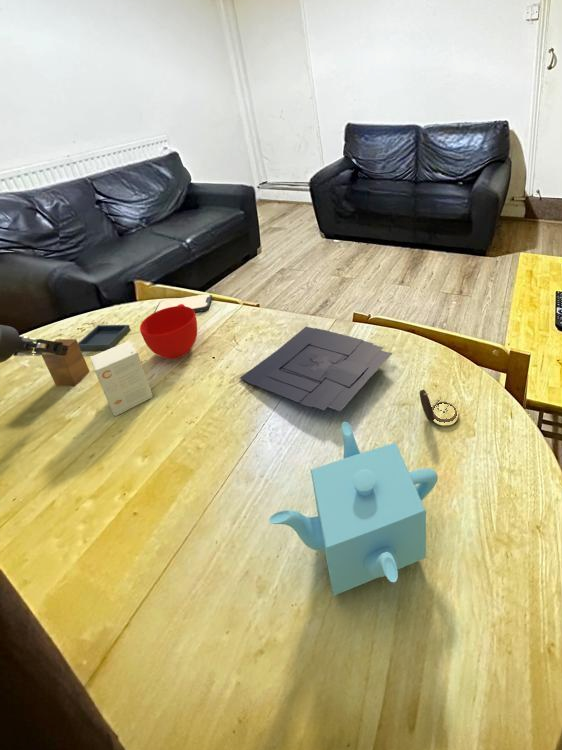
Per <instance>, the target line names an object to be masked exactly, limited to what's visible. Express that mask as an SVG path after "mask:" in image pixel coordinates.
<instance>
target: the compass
mask: <svg viewBox="0 0 562 750" xmlns="http://www.w3.org/2000/svg"><path fill="white" fill-rule="evenodd" d="M419 399H420V404H421V407H422V410H423V412H424V416H425V418H426V419H427V421H428V422H433V420H434V419H436V420H437V421H439V422H444V423H445V422H450V421H453V420H454V419H455V418H456V416H457V411H456V408H457V407H456V406H455V405H454V404H453V403H451V402H449V403H447V402H448V401H440V399H439V400H438V402H439V401H440V402H439V403H438V402H435V403H436V404H435V403H434V404H435V405H434V406H433V407H431V406H432V404H431V400H430V398H429V392H426V390H425V389H421V390H420V391H419ZM442 403H444V404H447V405H448V406H449V405H450V406H452V407H453V408H454V410H455V414H454V416H453V417H452V418H450V419H447V418H446V419H440V418H438V417H437V416H436V415H435V414H434V412H433V410H434V408H435V406H436V405H437V406H438V407H439V404H442ZM450 403H451V404H450ZM452 404H453V405H454V406H455V407H456V408H455V407H454V406H453V405H452ZM437 406H436V407H437ZM448 406H447V407H448ZM437 409H438V410H439V408H437ZM445 410H446V412H447V411H448V410H447V408H446V409H445ZM440 411H442V410H440ZM443 413H445V411H443Z"/></svg>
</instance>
